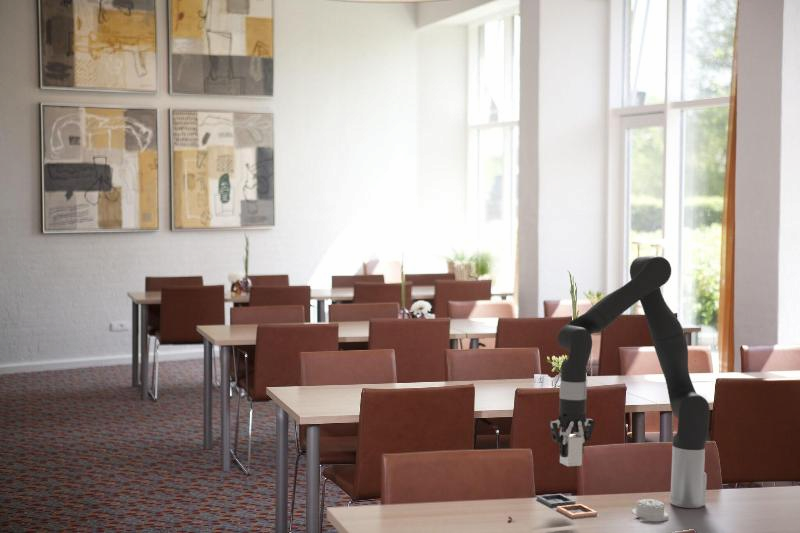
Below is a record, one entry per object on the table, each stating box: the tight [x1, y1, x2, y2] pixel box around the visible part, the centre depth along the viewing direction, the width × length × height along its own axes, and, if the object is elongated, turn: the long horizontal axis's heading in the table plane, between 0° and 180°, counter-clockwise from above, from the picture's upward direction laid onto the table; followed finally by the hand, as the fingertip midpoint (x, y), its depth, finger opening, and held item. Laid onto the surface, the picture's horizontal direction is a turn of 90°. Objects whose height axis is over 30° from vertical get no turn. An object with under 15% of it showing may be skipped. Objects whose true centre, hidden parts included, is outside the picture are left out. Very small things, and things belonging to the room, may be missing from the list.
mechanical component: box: [631, 498, 669, 522], centre depth 288 cm, size 10×4×10 cm
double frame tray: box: [535, 493, 601, 521], centre depth 291 cm, size 9×20×2 cm, turn 23°
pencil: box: [507, 516, 513, 523], centre depth 288 cm, size 1×19×1 cm, turn 171°
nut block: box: [559, 433, 583, 467], centre depth 289 cm, size 4×4×8 cm
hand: (570, 455), depth 289 cm, fingers closed on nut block, 4 cm apart
